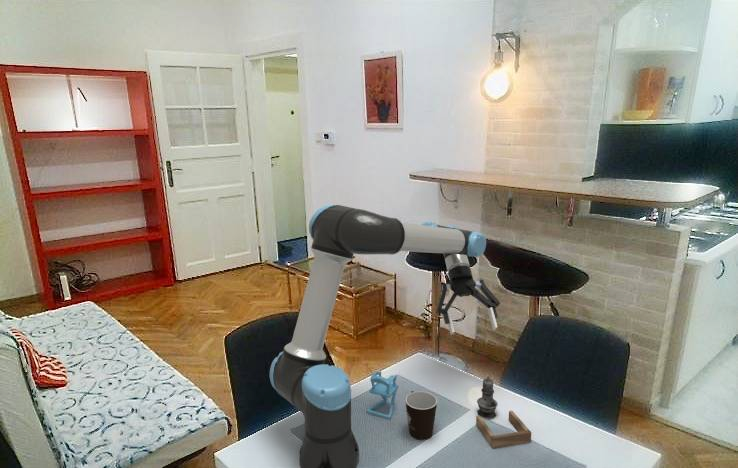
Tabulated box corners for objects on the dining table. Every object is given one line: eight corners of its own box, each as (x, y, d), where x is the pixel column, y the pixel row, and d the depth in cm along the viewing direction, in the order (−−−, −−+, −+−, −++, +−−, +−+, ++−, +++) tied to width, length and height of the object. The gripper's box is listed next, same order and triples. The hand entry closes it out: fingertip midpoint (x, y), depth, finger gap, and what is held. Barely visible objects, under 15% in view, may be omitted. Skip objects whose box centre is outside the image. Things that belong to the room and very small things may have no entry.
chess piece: (477, 406, 136) (478, 369, 134) (497, 409, 134) (499, 372, 132) (475, 417, 131) (477, 379, 128) (496, 421, 129) (498, 383, 126)
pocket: (475, 425, 127) (476, 415, 126) (511, 419, 129) (512, 410, 129) (492, 448, 118) (492, 438, 117) (530, 442, 120) (531, 432, 119)
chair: (401, 405, 137) (401, 369, 135) (389, 420, 130) (389, 382, 128) (378, 399, 141) (378, 363, 138) (366, 413, 134) (365, 376, 131)
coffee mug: (435, 444, 119) (436, 411, 117) (403, 440, 121) (403, 407, 119) (438, 418, 131) (438, 387, 128) (408, 415, 132) (408, 384, 130)
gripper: (491, 270, 154) (509, 330, 144) (420, 277, 152) (432, 339, 141) (498, 260, 148) (516, 322, 137) (423, 268, 145) (436, 331, 135)
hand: (474, 331), depth 139 cm, fingers open, 13 cm apart
